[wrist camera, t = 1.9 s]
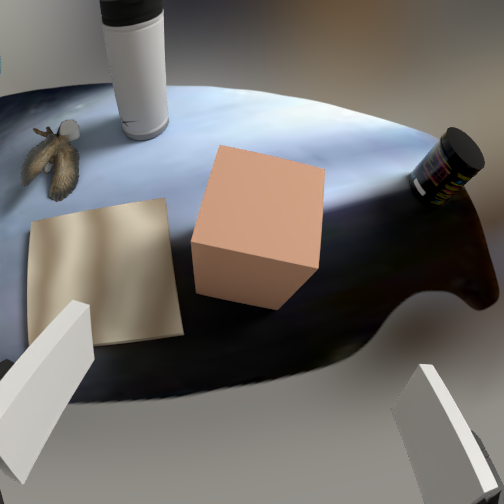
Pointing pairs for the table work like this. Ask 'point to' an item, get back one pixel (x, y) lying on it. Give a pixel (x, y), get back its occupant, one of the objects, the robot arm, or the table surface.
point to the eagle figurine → (55, 159)
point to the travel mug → (137, 64)
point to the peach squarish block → (257, 228)
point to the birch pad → (106, 272)
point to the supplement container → (446, 168)
